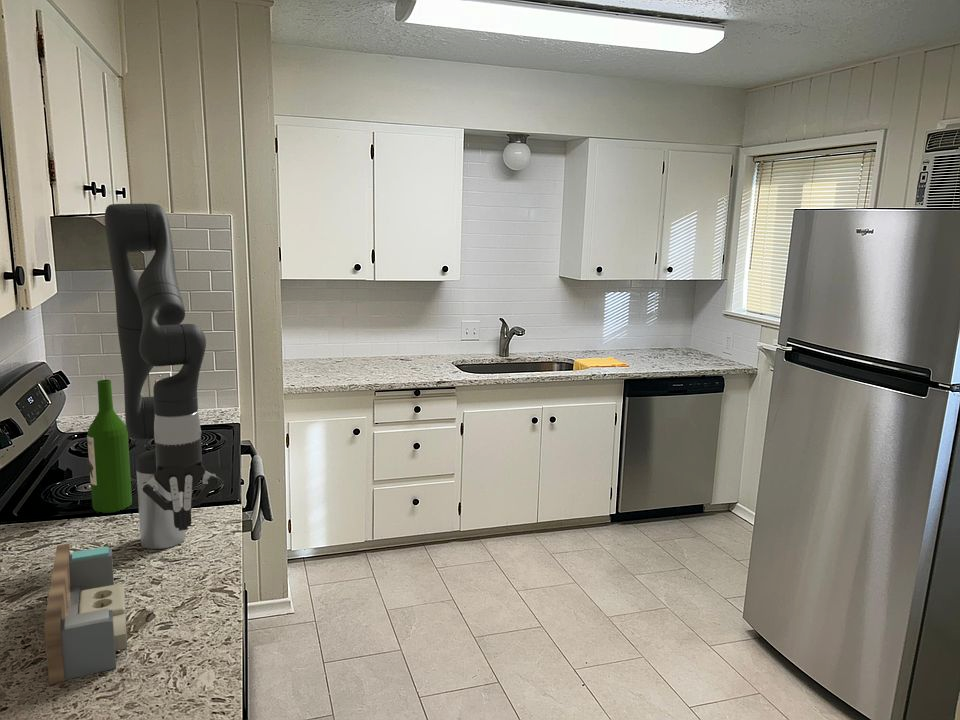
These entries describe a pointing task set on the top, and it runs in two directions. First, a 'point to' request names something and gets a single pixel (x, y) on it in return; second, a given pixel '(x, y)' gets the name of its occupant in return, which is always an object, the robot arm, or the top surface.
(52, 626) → the mounting panel
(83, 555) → the module
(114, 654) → the block
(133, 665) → the top surface
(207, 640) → the top surface
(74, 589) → the metal rail
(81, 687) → the top surface
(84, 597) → the electrical outlet
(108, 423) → the wine bottle
